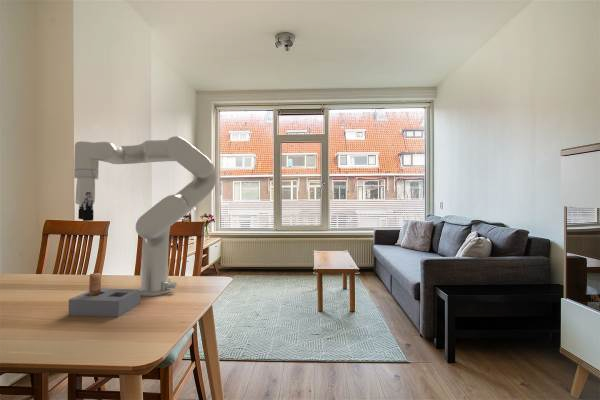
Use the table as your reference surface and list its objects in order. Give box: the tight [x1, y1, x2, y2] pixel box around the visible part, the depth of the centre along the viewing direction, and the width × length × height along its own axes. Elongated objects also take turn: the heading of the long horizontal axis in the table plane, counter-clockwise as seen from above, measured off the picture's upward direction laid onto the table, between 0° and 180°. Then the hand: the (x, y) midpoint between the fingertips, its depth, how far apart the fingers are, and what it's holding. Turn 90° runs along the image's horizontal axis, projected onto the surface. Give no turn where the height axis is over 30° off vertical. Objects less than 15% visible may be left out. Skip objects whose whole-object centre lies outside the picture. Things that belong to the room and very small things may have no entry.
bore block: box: [67, 287, 141, 318], centre depth 101 cm, size 16×12×5 cm
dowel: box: [88, 272, 102, 296], centre depth 101 cm, size 3×3×10 cm
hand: (85, 219), depth 115 cm, fingers open, 9 cm apart
